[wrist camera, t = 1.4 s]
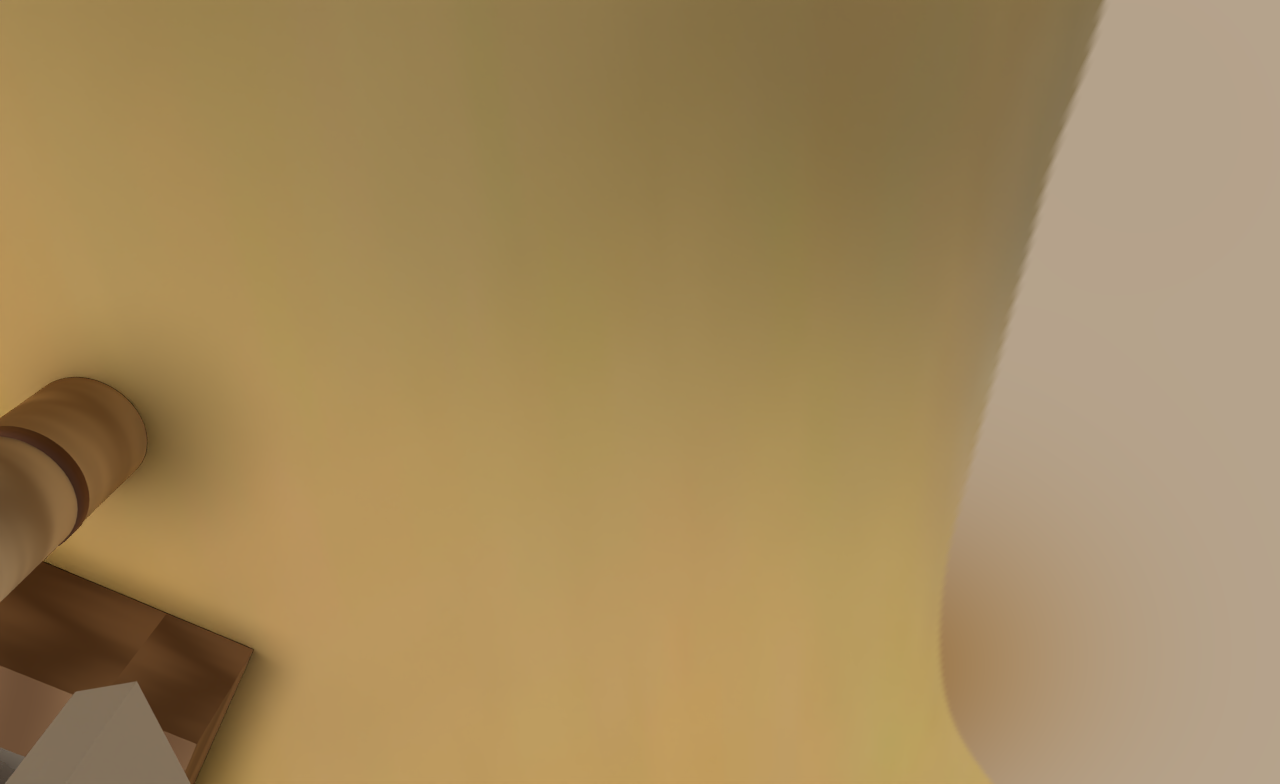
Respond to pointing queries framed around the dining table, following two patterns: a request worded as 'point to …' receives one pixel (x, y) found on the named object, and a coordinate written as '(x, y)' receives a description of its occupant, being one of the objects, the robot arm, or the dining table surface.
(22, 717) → the socket block
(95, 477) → the peg
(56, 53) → the dining table surface
